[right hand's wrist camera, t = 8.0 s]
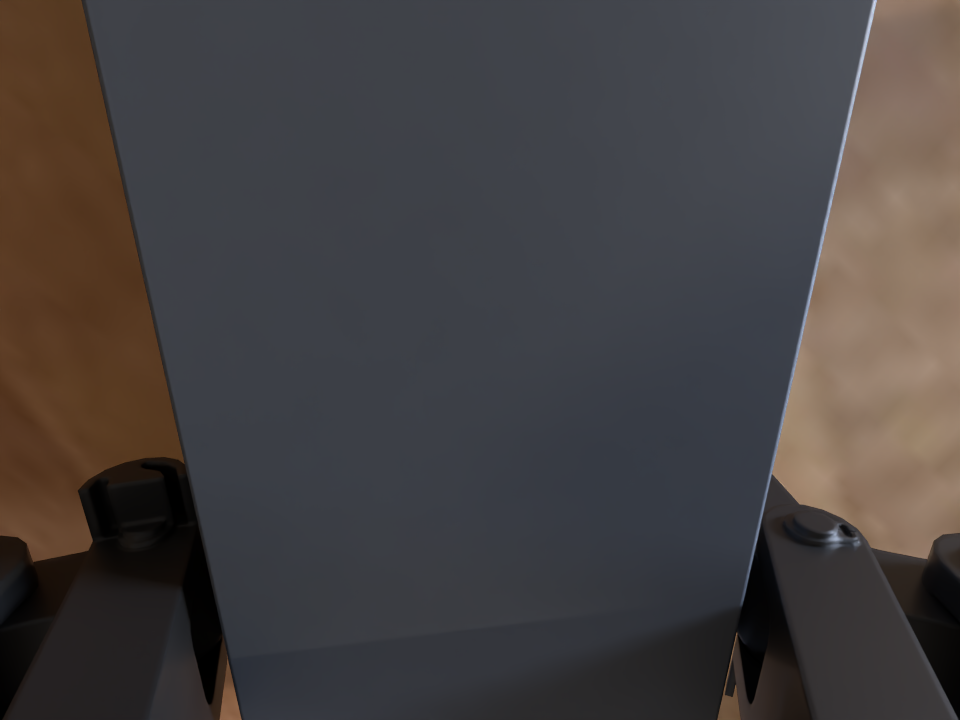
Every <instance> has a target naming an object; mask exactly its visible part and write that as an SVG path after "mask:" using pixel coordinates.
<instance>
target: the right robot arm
mask: <svg viewBox="0 0 960 720" xmlns="http://www.w3.org/2000/svg"><path fill="white" fill-rule="evenodd" d="M78 493H79V496H80V499H81V503H82V506H83V509H84V513H85V516H86V519H87V523H88V526H89V529H90V533H91V536H92V539H93V543H92V545H91V547H90V549H89V551H85V552H81V553H76V554H71V555H66V556H61V557H56V558H51V559H46V560H41V561H36V562H33V561H32V558H31V555H30V552H29V549H28V547H27V544H26V543H25V542H24V541H22V540H21V539H19V538H18V537H9V536H0V720H219V719H220V712H221V704H222V696H223V688H224V680H225V673H226V665H227V653H226V647H225V642H224V638H223V633H222V629H221V624H220V620H219V615H218V611H217V606H216V602H215V597H214V593H213V589H212V584H211V580H210V575H209V571H208V566H207V562H206V557H205V553H204V548H203V544H202V539H201V535H200V530H199V526H198V521H197V517H196V512H195V508H194V503H193V499H192V494H191V490H190V485H189V481H188V476H187V472H186V467H185V464H183V463H182V462H181V461H179V460H177V459H171V458H166V457H158V458H144V459H139V460H135V461H130V462H126V463H123V464H120V465H117V466H115V467H112V468H109V469H107V470H104V471H103V472H101V473H99V474H98V475H96V476H94V477H92V478H91V479H89V480H88V481H87V482H86V483H85V484H84V485H83V486H82V487H81V488H80V489H79V490H78ZM735 685H736V687H737V695H738V702H739V710H740V718H741V720H960V533H955V534H945V535H942V536H940V537H939V538H937V539H936V540H934V542H933V545H932V548H931V551H930V554H929V556H928V559H922V558H917V557H912V556H907V555H902V554H896V553H891V552H886V551H881V550H877V549H873V548H871V547H870V546H869V544H868V542H867V540H866V539H865V538H864V536H863V535H862V534H861V533H860V532H859V530H858V529H857V528H855V527H854V526H852V525H851V524H849V523H848V522H847V521H845V520H844V519H842V518H840V517H838V516H836V515H833V514H831V513H829V512H827V511H824V510H822V509H818V508H814V507H810V506H806V505H799V504H798V502H797V501H796V500H795V499H794V498H793V497H792V496H791V495H790V494H789V492H788V491H787V490H786V489H785V488H784V487H783V486H782V485H781V484H780V482H779V481H778V480H777V479H776V478H775V477H774V476H773V475H771V479H770V484H769V488H768V493H767V497H766V502H765V506H764V511H763V515H762V520H761V524H760V529H759V533H758V538H757V542H756V547H755V551H754V556H753V560H752V565H751V569H750V574H749V578H748V583H747V587H746V592H745V596H744V601H743V605H742V610H741V614H740V619H739V624H738V628H737V637H736V642H735V647H734V651H733V656H732V660H731V665H730V670H729V674H728V679H727V684H726V691H725V695H727V696H731V697H733V693H734V689H735Z"/></svg>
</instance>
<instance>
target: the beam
mask: <svg viewBox="0 0 960 720" xmlns="http://www.w3.org/2000/svg"><path fill="white" fill-rule="evenodd" d="M876 1H877V0H82V4H83V9H84V13H85V18H86V22H87V27H88V31H89V36H90V40H91V45H92V49H93V54H94V58H95V63H96V67H97V72H98V76H99V81H100V85H101V90H102V94H103V99H104V103H105V108H106V112H107V117H108V121H109V126H110V130H111V135H112V139H113V144H114V148H115V153H116V157H117V161H118V166H119V170H120V175H121V179H122V184H123V188H124V193H125V197H126V202H127V206H128V211H129V215H130V220H131V224H132V229H133V233H134V238H135V242H136V247H137V251H138V256H139V260H140V265H141V269H142V274H143V278H144V283H145V287H146V292H147V296H148V301H149V305H150V310H151V314H152V319H153V323H154V328H155V332H156V337H157V341H158V346H159V350H160V355H161V359H162V364H163V368H164V373H165V377H166V382H167V386H168V391H169V395H170V400H171V404H172V409H173V413H174V418H175V422H176V427H177V431H178V436H179V440H180V445H181V449H182V454H183V458H184V463H185V467H186V472H187V476H188V481H189V485H190V490H191V494H192V499H193V503H194V508H195V512H196V517H197V521H198V526H199V530H200V535H201V539H202V544H203V548H204V553H205V557H206V562H207V566H208V571H209V575H210V580H211V584H212V589H213V593H214V597H215V602H216V606H217V611H218V615H219V620H220V624H221V629H222V633H223V638H224V642H225V647H226V651H227V656H228V660H229V665H230V669H231V674H232V678H233V683H234V687H235V692H236V696H237V701H238V705H239V710H240V714H241V719H242V720H717V718H718V714H719V709H720V705H721V700H722V696H723V691H724V687H725V682H726V678H727V673H728V669H729V664H730V660H731V655H732V651H733V646H734V642H735V637H736V633H737V628H738V624H739V619H740V614H741V610H742V605H743V601H744V596H745V592H746V587H747V583H748V578H749V574H750V569H751V565H752V560H753V556H754V551H755V547H756V542H757V538H758V533H759V529H760V524H761V520H762V515H763V511H764V506H765V502H766V497H767V493H768V488H769V484H770V479H771V475H772V470H773V466H774V461H775V457H776V452H777V448H778V443H779V439H780V434H781V430H782V425H783V421H784V416H785V412H786V407H787V403H788V398H789V394H790V389H791V385H792V380H793V375H794V371H795V366H796V362H797V357H798V353H799V348H800V344H801V339H802V335H803V330H804V326H805V321H806V317H807V312H808V308H809V303H810V299H811V294H812V290H813V285H814V281H815V276H816V272H817V267H818V263H819V258H820V254H821V249H822V245H823V240H824V236H825V231H826V227H827V222H828V218H829V213H830V209H831V204H832V200H833V195H834V191H835V186H836V182H837V177H838V173H839V168H840V164H841V159H842V155H843V150H844V146H845V141H846V137H847V132H848V127H849V123H850V118H851V114H852V109H853V105H854V100H855V96H856V91H857V87H858V82H859V78H860V73H861V69H862V64H863V60H864V55H865V51H866V46H867V42H868V37H869V33H870V28H871V24H872V19H873V15H874V10H875V6H876Z"/></svg>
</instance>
